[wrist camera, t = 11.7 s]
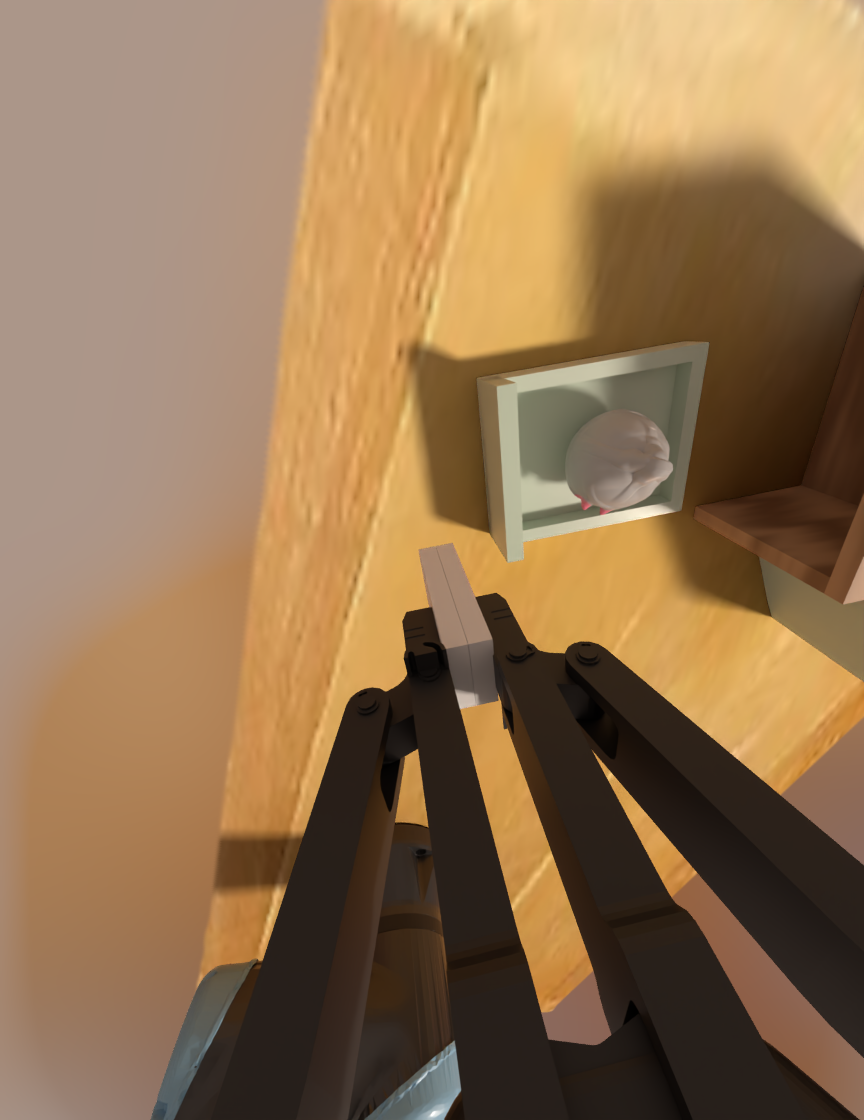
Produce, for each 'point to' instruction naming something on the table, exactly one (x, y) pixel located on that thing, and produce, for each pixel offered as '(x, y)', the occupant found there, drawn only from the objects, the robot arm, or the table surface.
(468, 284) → the table surface
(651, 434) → the figurine
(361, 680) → the table surface
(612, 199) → the table surface
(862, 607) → the grey piece
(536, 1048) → the robot arm
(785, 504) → the wooden open box
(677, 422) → the tray
